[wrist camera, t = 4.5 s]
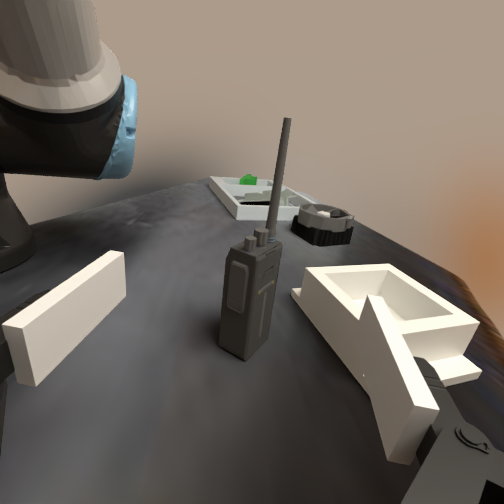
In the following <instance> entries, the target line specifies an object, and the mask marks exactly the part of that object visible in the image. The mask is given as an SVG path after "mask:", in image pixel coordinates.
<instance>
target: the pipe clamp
mask: <svg viewBox="0 0 504 504" xmlns="http://www.w3.org/2000/svg"><path fill="white" fill-rule="evenodd" d="M256 184H257V177H253V176H251V175H250V174H247V175H246V176H244V177H243V178H241V179H240V183H239V185H256Z"/></svg>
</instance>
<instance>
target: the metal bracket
mask: <svg viewBox="0 0 504 504" xmlns="http://www.w3.org/2000/svg"><path fill="white" fill-rule="evenodd" d="M287 191H288V192H287ZM271 192H272V190H266V191H263V192H262V193H258V192H256V193H245V194H244V199H242V200H237V201H238V202H255V201H270V198H271ZM295 196H297V195H294V196H291V195H290V190H289V189H286V190H284V191H281V195H280V202H279V206H289V203H288V198H289V197H295ZM281 204H282V205H281Z"/></svg>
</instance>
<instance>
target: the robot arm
mask: <svg viewBox="0 0 504 504" xmlns="http://www.w3.org/2000/svg"><path fill="white" fill-rule="evenodd" d="M136 120H137V85H136V82H135V81H134V80H133V79H131V78H128V77H127V76H125V75H121V70H120V66H119V63H118V60H117V58H116V57H115V55H114V53H113V52H112V51H111V50H110V49H109V48H108V47H107V46H106V45H105V44H104V43H103V42H102V41H100V40H99V33H98V26H97V20H96V13H95V7H94V0H0V272H3V271H5V270H8V269H10V268H13V267H15V266H17V265H19V264H21V263H22V262H24V261H26V260H27V259H28V258H30V257H31V256H32V255H33V254H34V252H35V250H36V245H35V240H34V235H33V232H32V229H31V228H30V226H29V225H28V223H27V222H26V220H25V218H24V217H23V215H22V214H21V212H20V211H19V209H18V207H17V206H16V204H15V203H14V201H13V199H12V198H11V196H10V194H9V193H8V190H7V186H6V182H5V177H4V173H10V174H26V175H41V176H56V177H70V178H84V179H94V180H101V179H120V178H124V177H126V176H127V175H128V174H129V173H130V172H131V169H132V165H133V158H134V149H135V131H136ZM125 296H126V282H125V265H124V253H123V252H117V251H111V250H110V251H109V252H107V253H106V254H104V255H103V256H101V257H100V258H99V259H97V260H96V261H94V262H93V263H91V264H90V265H88V266H87V267H85V268H84V269H82V270H81V271H79V272H78V273H76V274H75V275H73V276H72V277H71V278H69V279H68V280H66V281H65V282H63V283H62V284H60V285H59V286H57V287H56V288H54V289H53V290H46V291H44V292H41V293H38V294H36V295H34V296H32V297H31V298H29V299H28V300H26V301H25V303H22V304H20V305H19V306H17V307H16V309H15V308H14V309H13V310H11V311H9V312H8V313H6V314H5V315H3V316H2V317H0V454H1V444H2V434H3V424H4V414H5V404H6V394H7V382H6V378H7V377H8V376H9V375H10V374H12V373H13V372H15V376H16V380H17V383H21V384H26V385H30V386H35V387H36V386H37V385H38V384H39V383H40V382H41V381H42V380H43V379H44V378H45V377H46V376H47V375H48V374H49V373H50V372H51V371H52V370H53V369H54V368H55V367H56V366H57V365H58V364H59V363H60V362H61V361H62V360H63V359H64V358H65V357H66V356H67V355H68V354H69V353H70V352H71V351H72V350H73V349H74V348H75V347H76V346H77V345H78V344H79V343H80V342H81V341H82V340H83V339H84V338H85V337H86V336H87V335H88V334H89V333H90V332H91V331H92V330H93V329H94V328H95V327H96V326H97V325H98V324H99V323H100V322H101V321H102V320H103V319H104V318H105V317H106V316H107V315H108V314H109V313H110V311H111V310H112V309H113V308H114V307H115V306H116V305H117V304H118V303H119V302H120V301H121V300H122V299H123V298H124V297H125ZM354 341H355V344H356V348H357V352H358V355H359V359H360V363H361V366H362V370H363V373H364V377H365V381H366V384H367V388H368V392H369V395H370V399H371V403H372V406H373V410H374V413H375V417H376V421H377V424H378V428H379V432H380V435H381V439H382V442H383V446H384V450H385V453H386V457H387V461H392V462H396V463H401V464H406V465H411V463H412V461H413V459H414V457H415V455H417V458H418V461H419V463H420V466H421V467H420V469H419V471H418V473H417V474H416V476H415V478H414V480H413V481H412V483H411V485H410V487H409V489H408V491H407V492H406V494H405V496H404V498H403V499H402V501H401V503H400V504H504V453H503V452H501V451H499V450H497V449H495V448H493V446H492V444H491V442H490V441H489V440H488V439H487V437H486V436H485V435H484V434H483V433H482V432H481V431H479V430H478V429H477V428H476V427H474V426H472V425H471V424H469V423H467V422H465V421H464V419H463V417H462V415H461V414H460V412H459V410H458V409H457V407H456V405H455V403H454V402H453V400H452V398H451V396H450V395H449V393H448V391H447V390H446V388H445V386H444V384H443V382H442V381H441V379H440V377H439V375H438V374H437V372H436V370H435V368H434V367H433V366H432V365H431V364H429V363H428V362H427V361H426V360H425V359H424V358H420V357H415V356H412V354H411V352H410V350H409V348H408V346H407V344H406V342H405V340H404V339H403V337H402V335H401V333H400V331H399V329H398V327H397V325H396V323H395V321H394V319H393V317H392V315H391V313H390V311H389V309H388V307H387V305H386V303H385V301H384V299H383V297H379V296H374V295H368V294H367V297H366V300H365V303H364V306H363V309H362V312H361V315H360V318H359V321H358V324H357V327H356V331H355V334H354Z"/></svg>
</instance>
